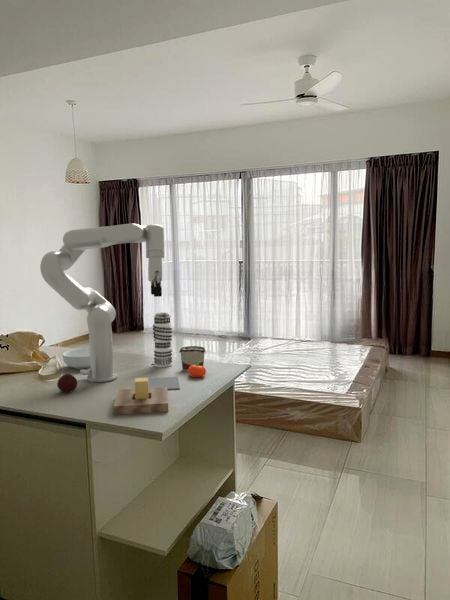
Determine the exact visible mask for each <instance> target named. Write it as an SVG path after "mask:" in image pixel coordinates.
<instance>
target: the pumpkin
mask: <svg viewBox="0 0 450 600" xmlns="http://www.w3.org/2000/svg"><path fill="white" fill-rule="evenodd" d="M187 372H188V374H189V376H191V377H193V378H196V377H197V378H202V377H204V376H205V375H206V374H207V371H206V368H205V367H204V365H203V366H199V364H198V363H197V364H196V365H191V366H190V367H189V369H188V370H187Z"/></svg>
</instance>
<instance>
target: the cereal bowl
mask: <svg viewBox="0 0 450 600" xmlns="http://www.w3.org/2000/svg"><path fill="white" fill-rule="evenodd" d="M62 359H63V363H64V364H65V365H66V366H68V367H71V368H73V369H76V370H85V369H90V348H77V349H71V350H67V351H65V352H63V353H62ZM84 368H85V369H84Z"/></svg>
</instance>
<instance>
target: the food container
mask: <svg viewBox="0 0 450 600" xmlns="http://www.w3.org/2000/svg"><path fill="white" fill-rule="evenodd" d="M178 353H179V354H180V358H181V360H180V361H181V367H182V371H188V369H189V367H190V366H191V365H196V364H197V363H198V364H199V366H203V367H204V363H205V354H207V352H206V348H205V347H203V346H201V345H200V346H199V345H198V346H197V345H190V346H189V345H188V346H182V347H180V348H179V352H178Z"/></svg>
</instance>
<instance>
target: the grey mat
mask: <svg viewBox="0 0 450 600" xmlns="http://www.w3.org/2000/svg"><path fill="white" fill-rule="evenodd" d="M147 378H148V388H161V387H167V391H174V390H176V391H177V390H180V382H179V377H178V376H166V377H163V376H162V377H147Z"/></svg>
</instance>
